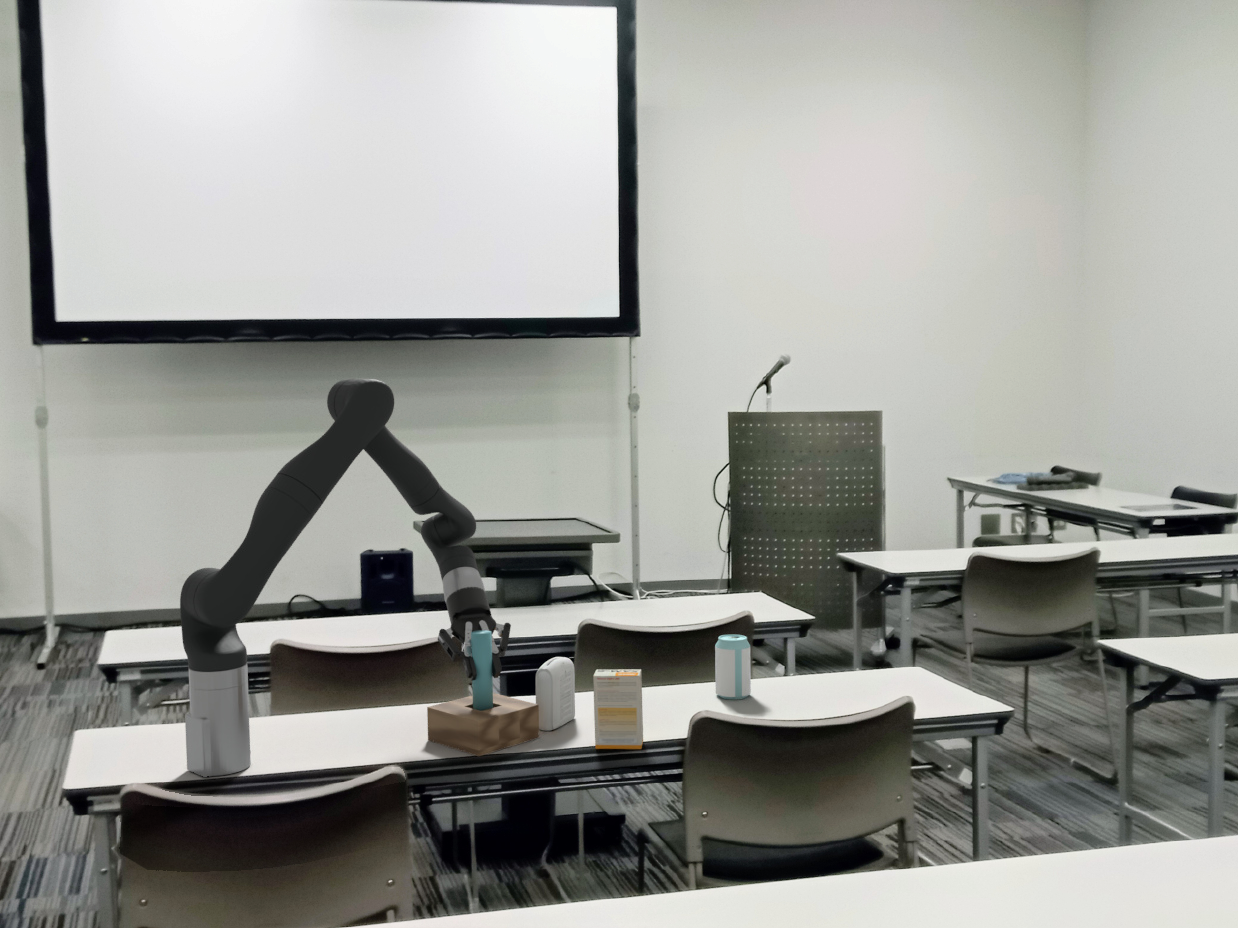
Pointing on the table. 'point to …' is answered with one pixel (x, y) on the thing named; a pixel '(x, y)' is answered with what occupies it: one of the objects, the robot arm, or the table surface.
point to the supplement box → (618, 708)
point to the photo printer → (555, 693)
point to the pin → (482, 669)
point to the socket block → (483, 724)
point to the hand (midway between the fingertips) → (485, 676)
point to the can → (732, 667)
